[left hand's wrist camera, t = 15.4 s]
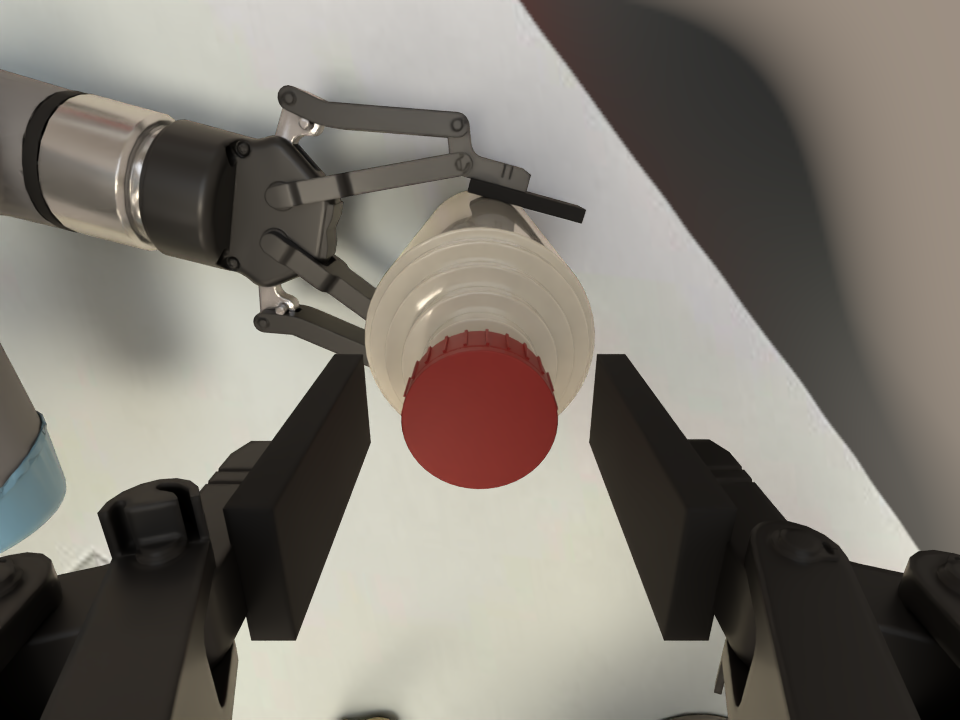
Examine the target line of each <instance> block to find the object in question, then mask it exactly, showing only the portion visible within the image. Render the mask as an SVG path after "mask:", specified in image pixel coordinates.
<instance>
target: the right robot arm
mask: <svg viewBox="0 0 960 720" xmlns="http://www.w3.org/2000/svg"><path fill="white" fill-rule="evenodd" d="M278 101H279V104H280V105H281V107H282V108H283V109H282V112H281V116H280V119H279V123H278V127H277V130H276V134H275V135H274V136H268V137H265V138H260V139H256V138H252V137H248V136H244V135H241V134H237V133H233V132H229V131H226V130H222V129H218V128H215V127H211V126H207V125H204V124H200V123H196V122H193V121H189V120H177V121H176V120H174V119H173V118H172V117H170V116H169V115H167V114H163V113H160V112H156V111H152V110H149V109H145V108H141V107H138V106H134V105H130V104H127V103H123V102H119V101H116V100H112V99H108V98H105V97H101V96H97V95H94V94H87V93H83V92H79V91H73V90H69V89H66V88H62V87H59V86H55V85H52V84H48V83H45V82H42V81H38V80H35V79H31V78H28V77H25V76H21V75H18V74H14V73H11V72H8V71H4V70H1V69H0V215H5V216H11V217H15V218H19V219H24V220H28V221H32V222H36V223H41V224H45V225H49V226H53V227H57V228H62V229H65V230H69V231H73V232H78V233H81V234H85V235H89V236H93V237H97V238H101V239H105V240H109V241H113V242H117V243H120V244H124V245H128V246H132V247H136V248H140V249H144V250H148V251H152V250H159V251H160V252H162V253H163V254H165V255H169V256H173V257H177V258H181V259H185V260H189V261H193V262H197V263H201V264H205V265H209V266H213V267H217V268H221V269H225V270H230V271H235V272H238V273H240V274H242V275H244V276H246V277H247V278H248V279H250V280H251V281H252V282H253V283H255V284H256V285H258V286H259V297H260V313H259V314H257V315H256V316H255V318H254V326H255V327H256V328H257V329H258V330H259V331H261V332H266V333H278V334H289V335H294V336H297V337H299V338H301V339H304V340H306V341H308V342H311V343H313V344H316V345H318V346H320V347H323V348H325V349H327V350H330V351H332V352H335V353H337V354H363V361H364V365H366V366H368V367H370V366H369V363H368V359H367V355H366V347H365V330H364V329H362V328H360V327H357V326H355V325H353V324H351V323H348V322H346V321H344V320H341V319H339V318H337V317H334V316H332V315H330V314H327V313H325V312H323V311H320V310H318V309H315V308H313V307H309V306H305V305H300V304H299V302H298V299H297V298H296V297H294V296H293V295H290V294H287V293H286V292H284V290H283V289H282V287H281V284H282V283H284V282H287V281H289V280H292V279H294V278H297V277H299V276H300V277H301V278H303V279H304V280H306V281H307V282H308V283H310V284H311V285H312V286H314V287H315V288H317V289H318V290H320V291H322V292H327V293H329V294H330V295H332V296H333V297H334V298H336V299H337V300H339V301H340V302H341V303H343V304H344V305H345V306H347V307H348V308H350V309H351V310H352V311H354V312H355V313H356V314H358V315H359V316H361V317H362V318H363V319H365V320H366V317H367V312H368V309H369V305H370V302H371V299H372V297H373V295H374V292H375V290H376V288H375V287H373V286H372V285H371V284H369V283H368V282H366V281H365V280H364V279H362V278H361V277H360V276H358V275H357V274H356V273H354V272H353V271H352V270H350V269H349V268H348V266H347V264H346V263H345V262H344V261H342V260H341V259H340V258H338V257H337V256H336V255H334V254H335V251H336V245H337V235H336V225H337V223H338V221H339V219H340V216H341V213H342V207H343V202H342V201H341V199H340V198H343V197H348V196H353V195H358V194H364V193H369V192H375V191H380V190H386V189H392V188H397V187H403V186H408V185H414V184H419V183H425V182H431V181H436V180H442V179H447V178H453V177H459V176H464V177H468V178H471V180H470V184H469V188H468V193H472V194H475V195H479V196H483V197H486V198H490V199H494V200H497V201H501V202H505V203H508V204H512V205H516V206H519V207H523V208H527V209H530V210H534V211H538V212H541V213H545V214H549V215H552V216H556V217H560V218H563V219H567V220H571V221H574V222H578V223H582V221H583V218H584V215H585V212H586V210H585V209H583V208H581V207H580V206H578V205H574V204H571V203H567V202H563V201H560V200H556V199H553V198H549V197H545V196H542V195H538V194H534V193H531V192H527V187H528V184H529V180H530V176H531V175H530V174H529V173H528V172H527V171H525V170H524V169H522V168H519V167H516V166H512V165H508V164H505V163H501V162H498V161H494V160H491V159H487V158H484V157H481V156H478V155H477V154H476V153H475V152H474V151H473V148H472V145H471V136H470V125H469V121H468V119H467V117H466V116H465V115H464V114H462V113H459V112H450V111H437V110H425V109H412V108H400V107H388V106H375V105H363V104H350V103H338V102H328V101H326V100H324V99H322V98H320V97H318V96H315V95H313V94H311V93H309V92H307V91H304V90H301V89H299V88H296V87H293V86H289V85H287V86H283V87H282V88H281V89H280V90H279V92H278ZM325 126H326V127H332V128H337V129H344V130H355V131H368V132H380V133H393V134H406V135H418V136H431V137H444V138H448V145H449V154H445V155H440V156H434V157H429V158H423V159H418V160H412V161H407V162H401V163H396V164H390V165H385V166H379V167H374V168H368V169H363V170H357V171H352V172H346V173H340V174H335V175H329V176H326V175H325V174H324V173H323V172H322V171H321V169H320V168H319V167H318V166H317V165H316V164H315V163H314V161H313V160H312V159H311V158H310V157H309V156H308V155H307V153H306V152H305V151H304V150H303V149H302V148H301V147H300V145H299V144H298V142H299V140H300V139H301V138H302V137H304V136H318V135H320V134H321V133H322V132H323V130H324V127H325ZM65 493H66V479H65V477H64V474H63V471H62V468H61V466H60V463H59V460H58V458H57V455H56V452H55V450H54V447H53V444H52V441H51V439H50V436H49V433H48V431H47V424H46V422H45V419H44V417H43V415H42V414H41V413H39V412H38V411H36V410H35V408H34V406H33V404H32V402H31V401H30V399H29V397H28V395H27V393H26V391H25V389H24V387H23V385H22V383H21V381H20V380H19V378H18V376H17V374H16V372H15V370H14V368H13V366H12V364H11V362H10V360H9V358H8V357H7V355H6V353H5V351H4V349H3V347H2V345H1V343H0V553H2V552H4V551H6V550H7V549H9V548H11V547H13V546H14V545H16V544H18V543H19V542H21V541H22V540H24V539H25V538H27V537H28V536H29V535H31V534H32V533H34V532H35V531H36V530H38V529H39V528H40V527H41V526H42V525H43V524H44V523H45V522H46V521H47V520H49V519H50V517H51V516H52V515H53V514H54V513H55V512H56V511H57V509H58V508H59V506H60V505H61V503H62V501H63V499H64V496H65Z"/></svg>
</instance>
